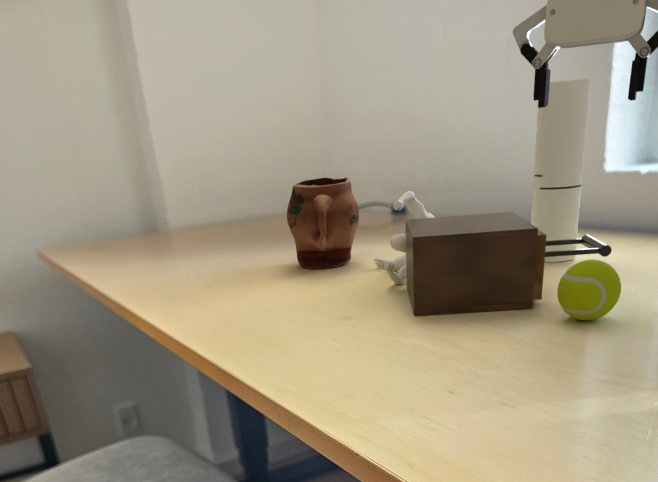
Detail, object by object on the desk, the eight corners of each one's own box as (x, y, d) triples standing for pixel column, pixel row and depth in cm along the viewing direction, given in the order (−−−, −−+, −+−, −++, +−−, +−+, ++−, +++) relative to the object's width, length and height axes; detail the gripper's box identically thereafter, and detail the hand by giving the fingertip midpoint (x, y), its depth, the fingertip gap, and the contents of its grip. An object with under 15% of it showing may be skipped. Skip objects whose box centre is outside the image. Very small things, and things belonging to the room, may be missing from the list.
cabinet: (508, 281, 94) (512, 211, 90) (532, 308, 81) (538, 228, 77) (406, 288, 95) (405, 219, 91) (413, 316, 82) (412, 237, 78)
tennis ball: (551, 326, 74) (555, 266, 71) (559, 310, 80) (564, 253, 77) (614, 329, 72) (622, 267, 69) (619, 312, 77) (626, 254, 74)
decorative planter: (369, 273, 106) (365, 181, 100) (295, 281, 106) (286, 188, 99) (353, 252, 124) (348, 172, 118) (289, 258, 123) (281, 178, 117)
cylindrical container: (556, 251, 110) (570, 81, 99) (584, 257, 104) (602, 77, 93) (519, 256, 109) (529, 84, 97) (546, 263, 102) (559, 81, 91)
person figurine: (380, 196, 107) (396, 185, 90) (456, 208, 108) (486, 199, 91) (368, 278, 111) (381, 282, 94) (441, 288, 112) (468, 294, 95)
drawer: (581, 271, 92) (587, 213, 89) (614, 295, 80) (622, 229, 77) (422, 282, 94) (422, 225, 91) (431, 306, 82) (431, 242, 79)
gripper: (697, -92, 67) (670, 96, 75) (524, -60, 75) (515, 109, 82) (699, -109, 61) (669, 97, 69) (511, -73, 69) (503, 110, 76)
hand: (586, 103), depth 76 cm, fingers open, 9 cm apart
